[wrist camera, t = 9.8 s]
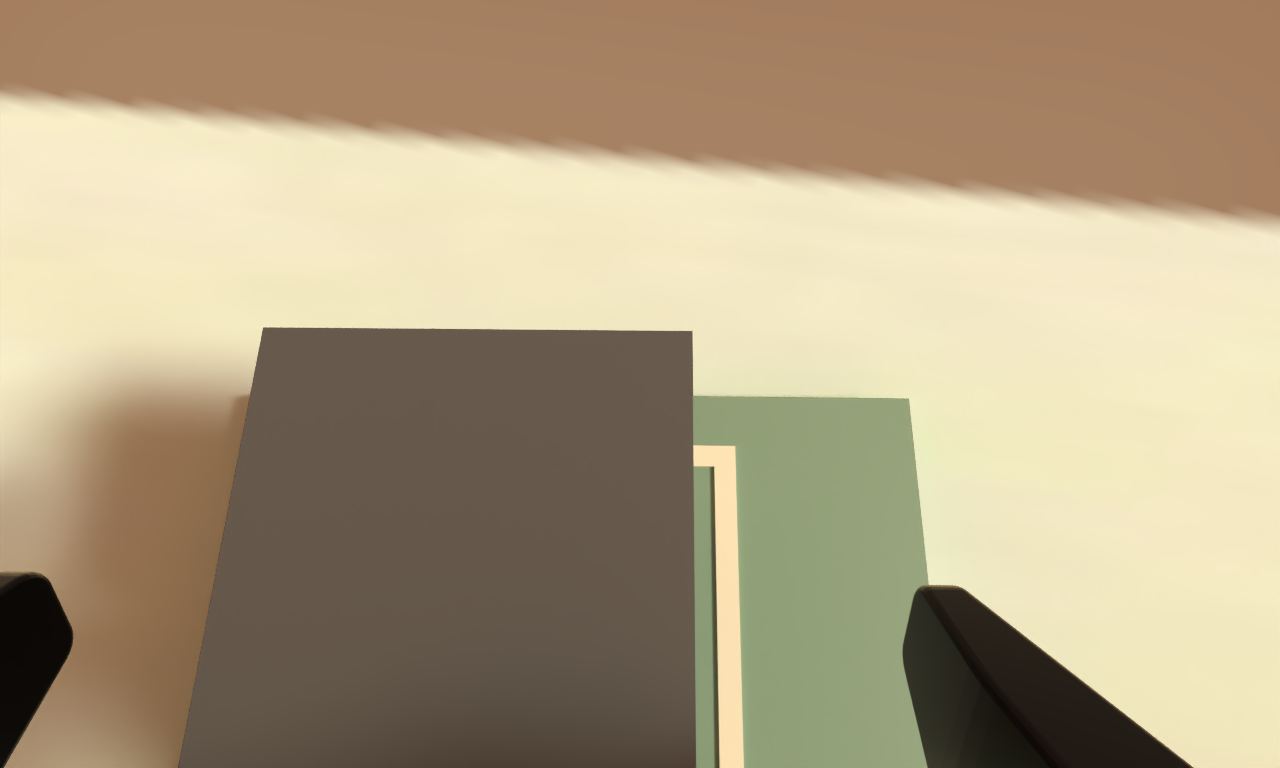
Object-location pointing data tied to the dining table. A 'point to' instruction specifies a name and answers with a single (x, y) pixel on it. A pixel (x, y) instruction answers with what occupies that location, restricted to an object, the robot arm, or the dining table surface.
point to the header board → (804, 582)
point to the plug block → (456, 555)
